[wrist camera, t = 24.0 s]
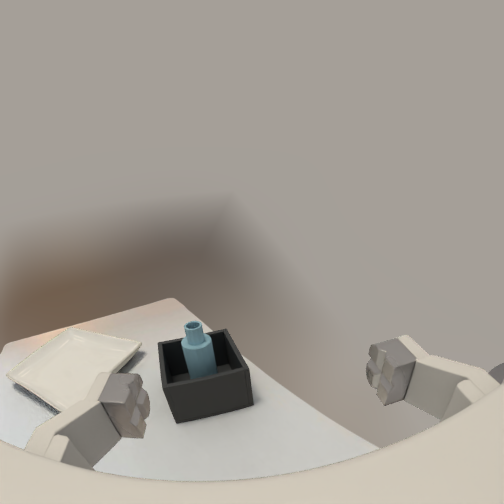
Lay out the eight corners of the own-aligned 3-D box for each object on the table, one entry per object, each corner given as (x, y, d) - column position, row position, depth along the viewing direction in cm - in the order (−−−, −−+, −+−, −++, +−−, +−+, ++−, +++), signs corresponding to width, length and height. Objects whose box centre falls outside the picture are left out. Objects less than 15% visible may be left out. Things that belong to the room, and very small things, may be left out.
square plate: (78, 429, 34) (68, 415, 33) (10, 386, 41) (3, 373, 39) (146, 353, 60) (142, 339, 59) (73, 336, 66) (69, 324, 65)
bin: (231, 362, 55) (226, 328, 53) (253, 405, 43) (249, 368, 41) (168, 376, 51) (157, 342, 49) (176, 423, 39) (162, 388, 37)
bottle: (217, 377, 50) (205, 315, 46) (223, 393, 45) (211, 329, 42) (191, 383, 48) (176, 321, 45) (196, 400, 44) (179, 335, 40)
